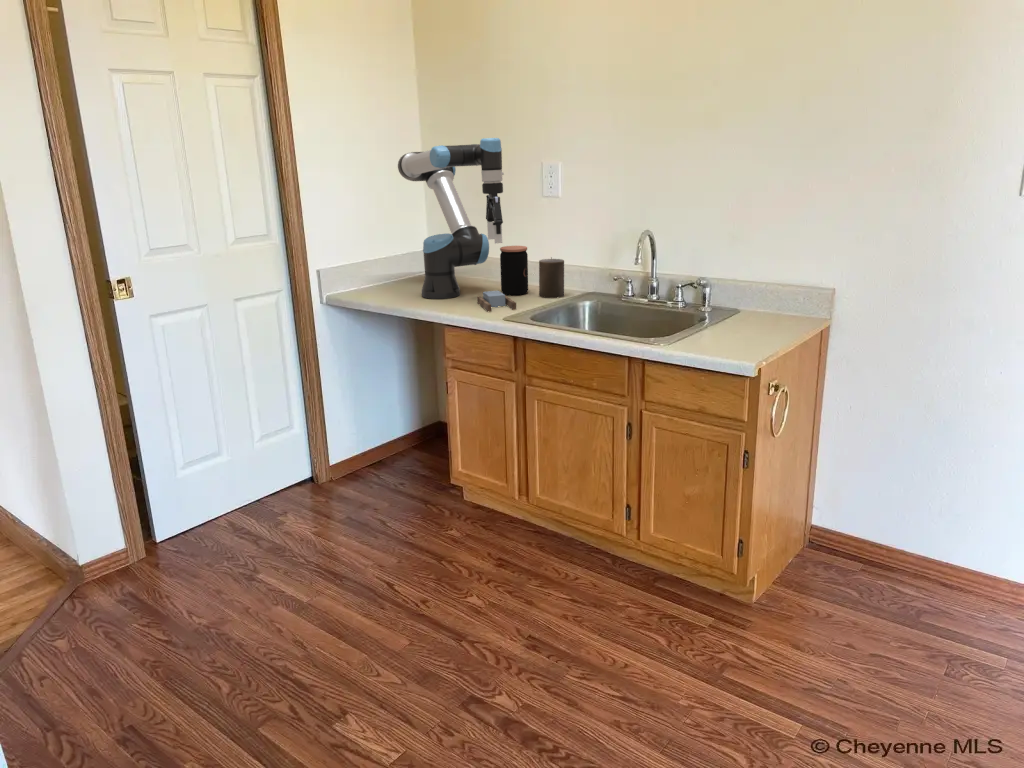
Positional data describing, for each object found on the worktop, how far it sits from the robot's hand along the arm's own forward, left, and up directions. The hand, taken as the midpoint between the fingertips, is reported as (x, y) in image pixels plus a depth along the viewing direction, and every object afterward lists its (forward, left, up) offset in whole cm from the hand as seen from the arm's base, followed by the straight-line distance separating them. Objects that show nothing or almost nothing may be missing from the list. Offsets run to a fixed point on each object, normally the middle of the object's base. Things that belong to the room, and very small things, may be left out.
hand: (495, 241), depth 292 cm
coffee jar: (-9, +10, -22) cm, 26 cm away
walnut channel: (+11, -3, -22) cm, 25 cm away
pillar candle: (+1, +22, -22) cm, 31 cm away
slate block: (+8, -3, -22) cm, 24 cm away
